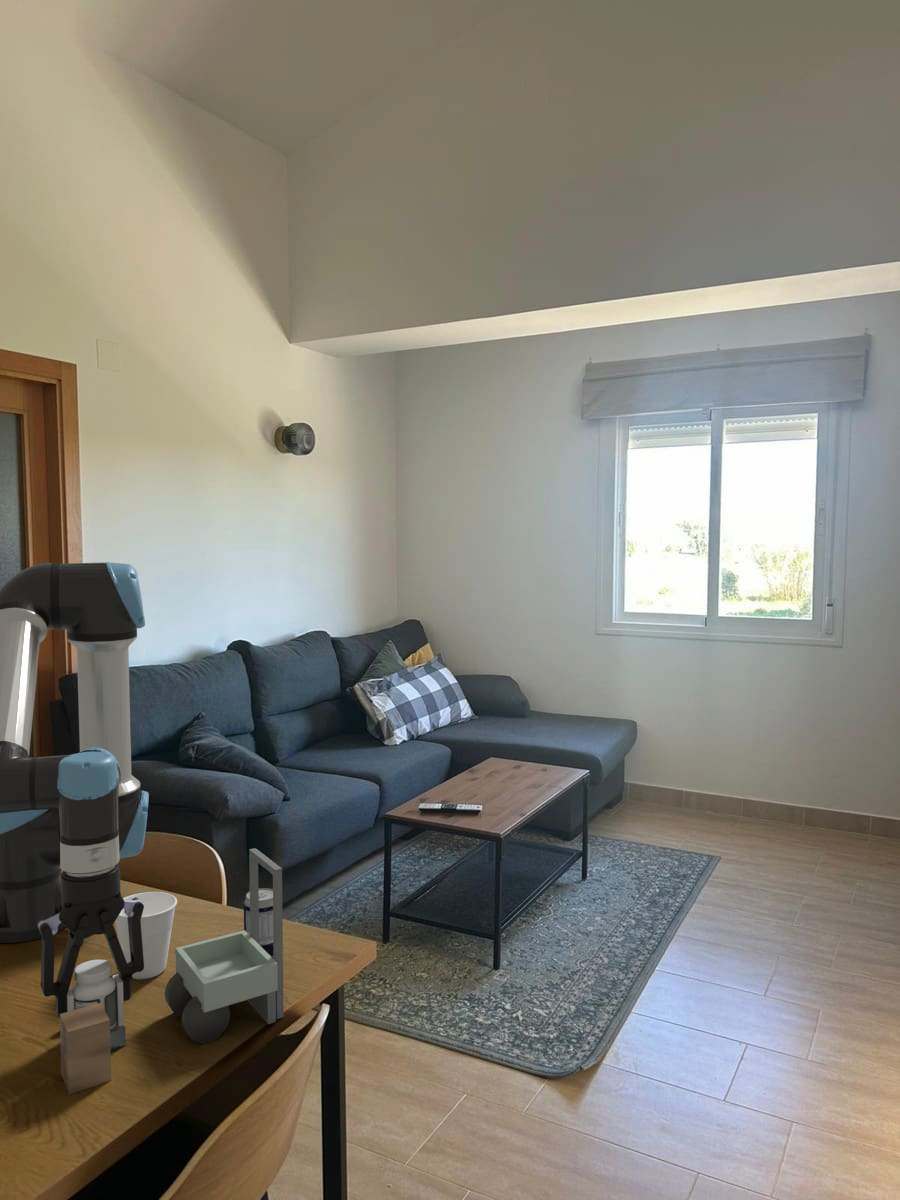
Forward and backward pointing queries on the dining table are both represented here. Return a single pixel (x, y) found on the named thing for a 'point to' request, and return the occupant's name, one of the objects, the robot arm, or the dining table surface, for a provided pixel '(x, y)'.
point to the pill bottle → (95, 987)
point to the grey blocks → (117, 1037)
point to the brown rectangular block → (85, 1047)
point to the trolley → (231, 969)
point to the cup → (150, 931)
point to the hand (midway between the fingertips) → (94, 1030)
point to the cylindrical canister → (262, 919)
